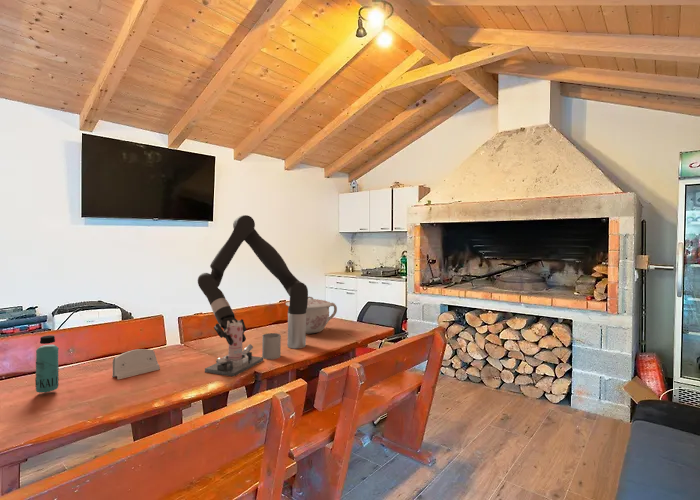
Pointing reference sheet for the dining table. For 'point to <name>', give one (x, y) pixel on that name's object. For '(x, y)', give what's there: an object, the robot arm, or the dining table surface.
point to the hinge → (134, 363)
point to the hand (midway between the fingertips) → (238, 342)
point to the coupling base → (234, 369)
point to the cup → (271, 346)
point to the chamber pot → (317, 314)
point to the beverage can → (235, 341)
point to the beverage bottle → (46, 366)
